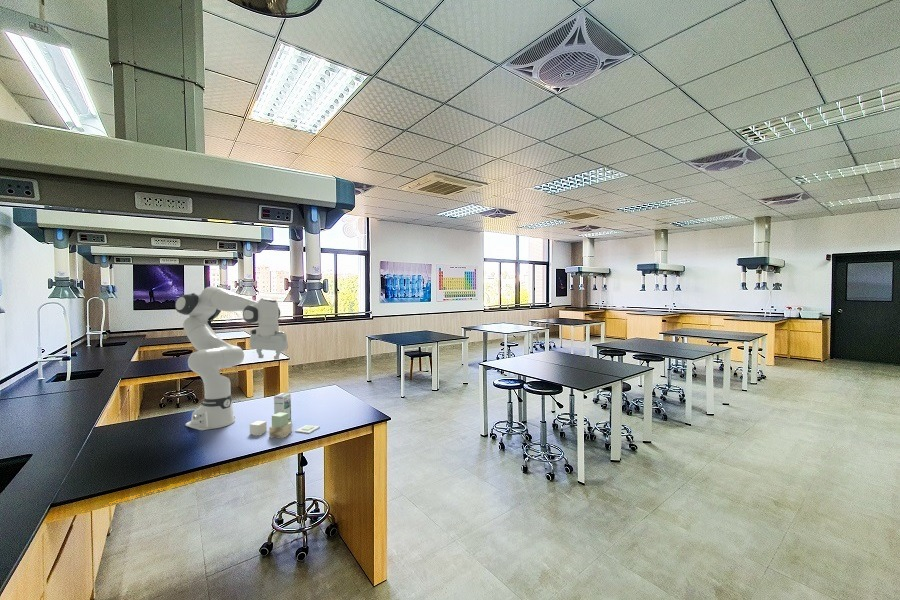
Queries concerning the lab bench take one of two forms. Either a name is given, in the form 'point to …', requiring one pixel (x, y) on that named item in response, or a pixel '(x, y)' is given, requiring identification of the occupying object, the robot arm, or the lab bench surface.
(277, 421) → the sage block
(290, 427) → the birch base block
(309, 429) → the tile
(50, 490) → the lab bench surface
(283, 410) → the syrup box
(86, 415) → the lab bench surface
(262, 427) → the off-white block
